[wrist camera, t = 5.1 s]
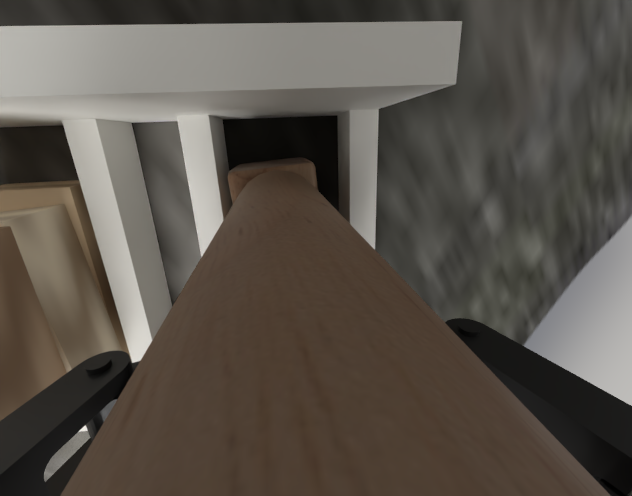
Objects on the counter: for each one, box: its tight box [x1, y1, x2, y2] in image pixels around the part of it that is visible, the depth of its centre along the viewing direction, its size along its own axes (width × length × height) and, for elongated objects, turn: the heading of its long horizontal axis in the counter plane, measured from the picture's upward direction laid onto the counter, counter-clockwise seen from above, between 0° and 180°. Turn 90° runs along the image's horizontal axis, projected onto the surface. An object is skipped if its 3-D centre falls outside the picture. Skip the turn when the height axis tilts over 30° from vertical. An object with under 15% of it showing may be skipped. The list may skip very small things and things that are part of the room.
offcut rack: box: [0, 21, 462, 432], centre depth 13 cm, size 16×19×9 cm
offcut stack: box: [0, 180, 131, 421], centre depth 12 cm, size 9×5×9 cm, turn 2°
